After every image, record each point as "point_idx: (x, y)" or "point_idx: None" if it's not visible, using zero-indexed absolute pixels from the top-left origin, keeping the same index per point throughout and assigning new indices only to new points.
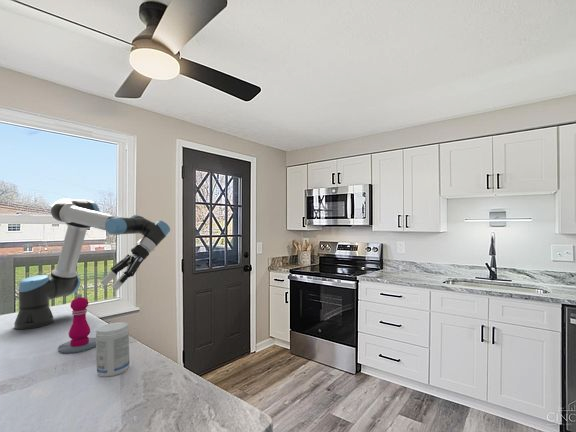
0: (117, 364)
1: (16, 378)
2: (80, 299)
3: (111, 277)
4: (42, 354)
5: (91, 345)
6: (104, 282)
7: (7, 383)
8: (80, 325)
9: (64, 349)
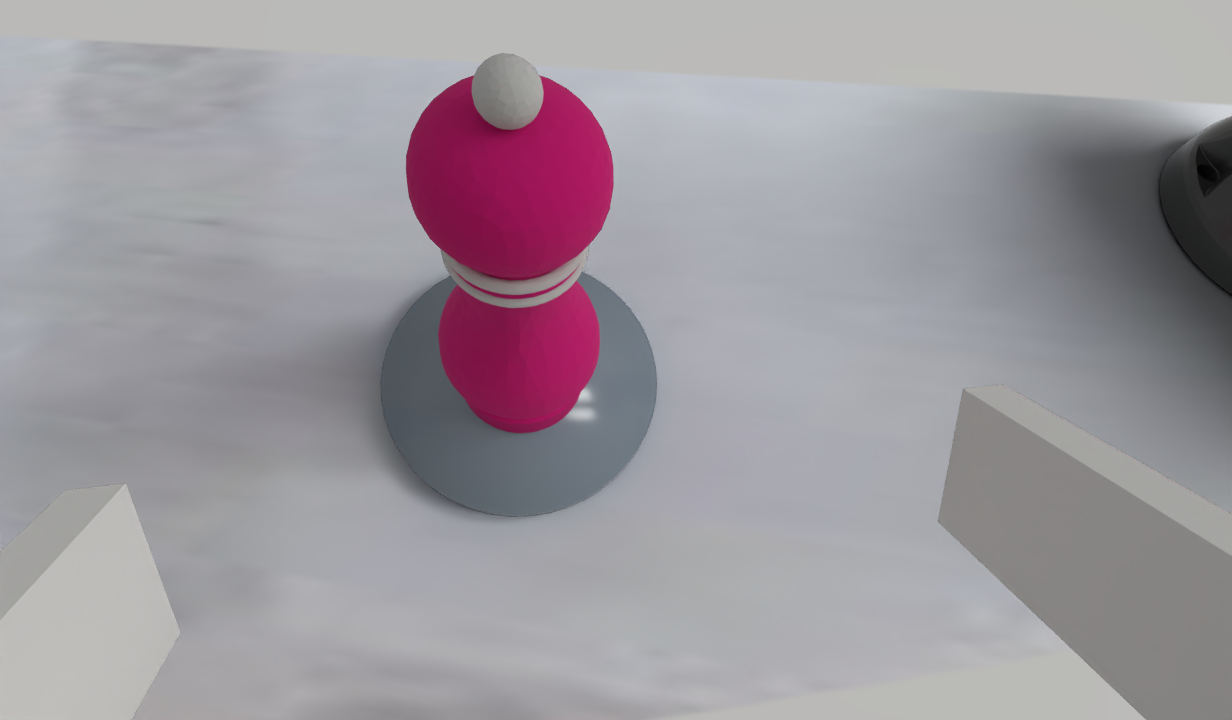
0: None
1: (241, 83)
2: (439, 123)
3: (1169, 683)
4: None
5: (407, 434)
6: (993, 482)
7: (209, 55)
8: (453, 299)
9: None
